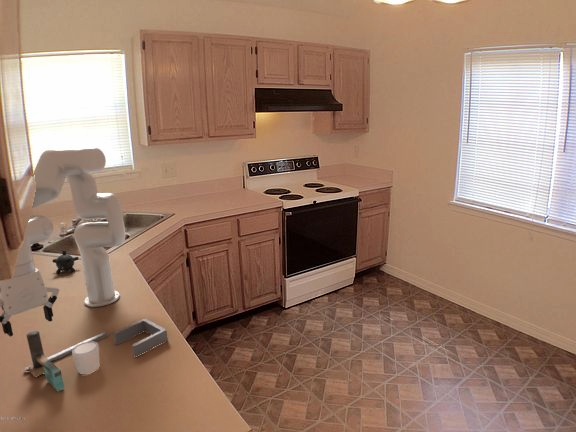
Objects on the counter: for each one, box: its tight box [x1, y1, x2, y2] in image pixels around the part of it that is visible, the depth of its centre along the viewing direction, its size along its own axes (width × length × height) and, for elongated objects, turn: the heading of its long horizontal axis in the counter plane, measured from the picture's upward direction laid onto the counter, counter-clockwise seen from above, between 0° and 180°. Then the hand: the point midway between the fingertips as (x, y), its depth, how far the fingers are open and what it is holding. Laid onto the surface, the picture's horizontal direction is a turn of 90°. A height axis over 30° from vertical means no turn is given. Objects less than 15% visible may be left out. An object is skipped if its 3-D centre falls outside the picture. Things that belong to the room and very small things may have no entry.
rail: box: [23, 331, 109, 372], centre depth 122 cm, size 1×24×1 cm, turn 141°
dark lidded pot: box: [52, 249, 79, 275], centre depth 185 cm, size 11×11×12 cm
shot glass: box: [71, 341, 101, 375], centre depth 113 cm, size 7×7×7 cm
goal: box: [112, 318, 169, 358], centre depth 126 cm, size 12×11×4 cm
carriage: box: [26, 330, 65, 392], centre depth 108 cm, size 16×4×12 cm, turn 51°
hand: (30, 327), depth 109 cm, fingers open, 9 cm apart
